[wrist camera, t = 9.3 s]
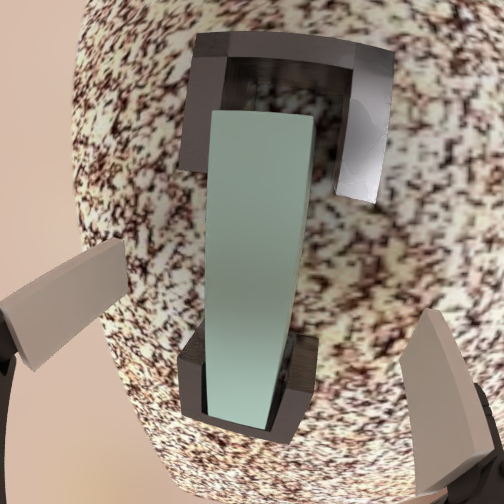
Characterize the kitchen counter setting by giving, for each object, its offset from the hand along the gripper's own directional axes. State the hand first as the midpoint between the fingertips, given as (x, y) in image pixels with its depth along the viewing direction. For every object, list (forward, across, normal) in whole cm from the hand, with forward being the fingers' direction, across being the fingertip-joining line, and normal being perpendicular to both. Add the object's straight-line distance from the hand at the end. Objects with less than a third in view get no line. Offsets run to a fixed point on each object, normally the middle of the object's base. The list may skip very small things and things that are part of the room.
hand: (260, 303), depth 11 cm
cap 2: (+6, 0, -9) cm, 10 cm away
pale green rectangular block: (+6, -1, -1) cm, 6 cm away
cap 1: (+6, 0, +7) cm, 10 cm away
